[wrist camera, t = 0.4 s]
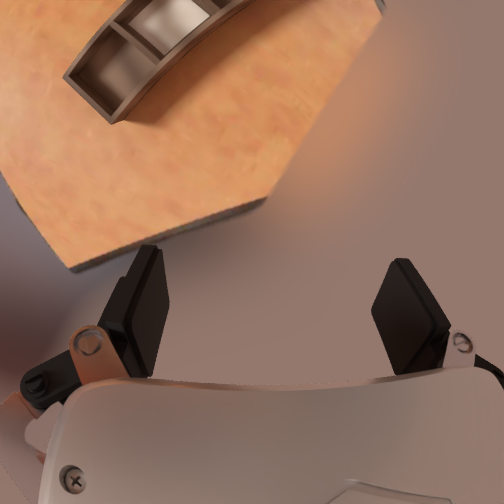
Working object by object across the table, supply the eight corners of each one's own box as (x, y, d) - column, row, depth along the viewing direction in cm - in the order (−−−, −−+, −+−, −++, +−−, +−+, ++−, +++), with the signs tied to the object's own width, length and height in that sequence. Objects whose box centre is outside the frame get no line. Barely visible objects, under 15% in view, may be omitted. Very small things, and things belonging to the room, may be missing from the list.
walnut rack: (227, -61, 19) (225, -72, 16) (283, -17, 24) (287, -27, 20) (76, 76, 30) (61, 77, 26) (122, 120, 34) (111, 124, 31)
